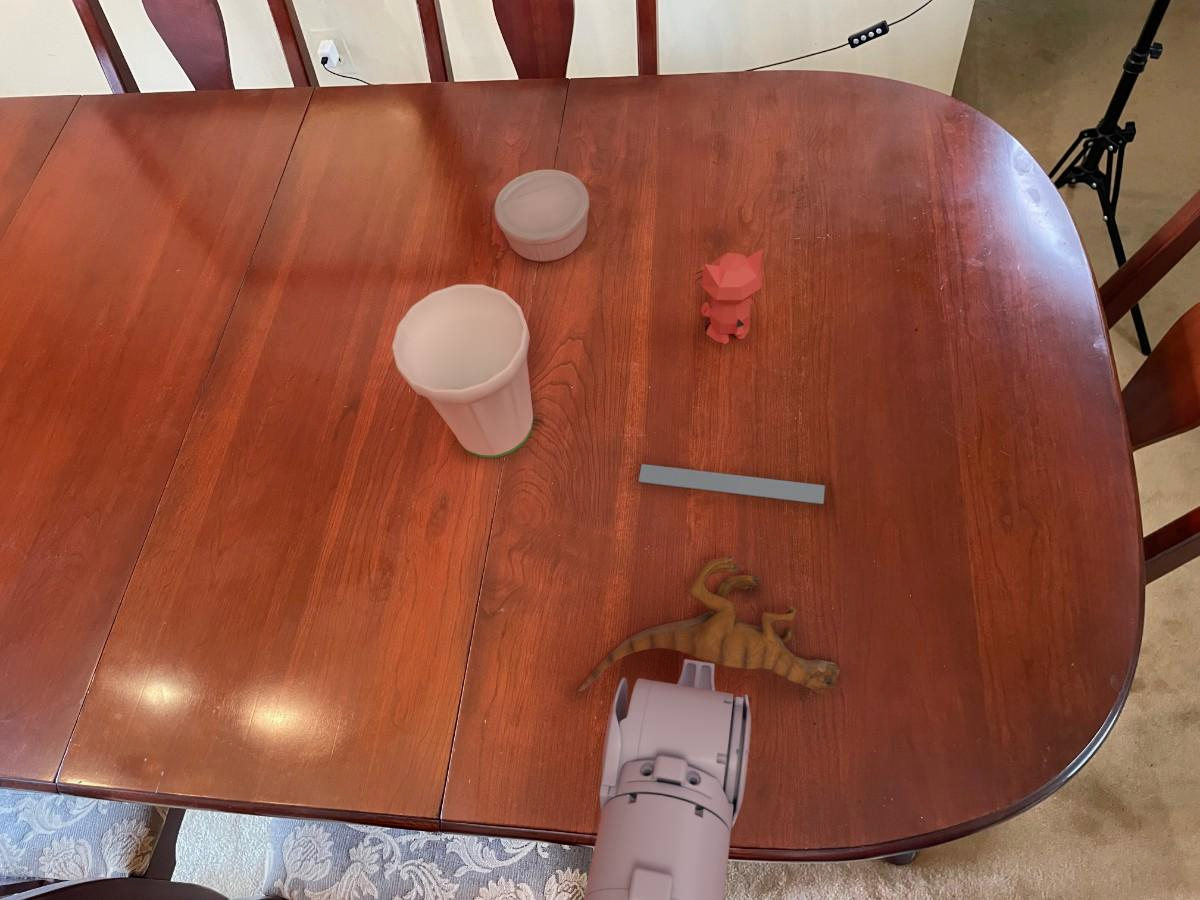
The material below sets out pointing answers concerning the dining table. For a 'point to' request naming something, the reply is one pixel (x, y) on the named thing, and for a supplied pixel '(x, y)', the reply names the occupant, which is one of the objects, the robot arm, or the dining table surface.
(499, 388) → the cup
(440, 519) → the dining table surface
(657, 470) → the tape line
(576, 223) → the ramekin
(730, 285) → the cat figurine
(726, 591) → the dinosaur figurine
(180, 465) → the dining table surface
